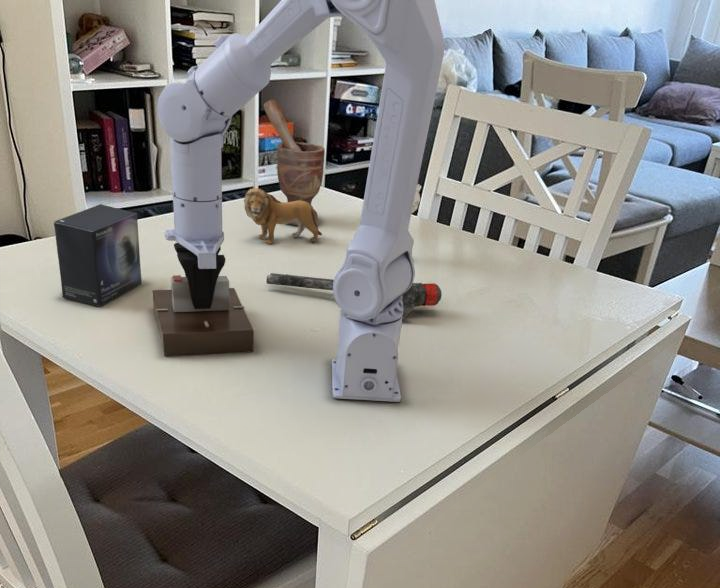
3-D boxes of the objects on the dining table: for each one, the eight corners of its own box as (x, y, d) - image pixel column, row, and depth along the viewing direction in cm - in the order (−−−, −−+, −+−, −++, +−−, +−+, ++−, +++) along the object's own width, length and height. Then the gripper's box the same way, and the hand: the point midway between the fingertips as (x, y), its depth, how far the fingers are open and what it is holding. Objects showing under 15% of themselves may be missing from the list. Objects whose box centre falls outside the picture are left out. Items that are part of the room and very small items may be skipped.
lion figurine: (250, 248, 127) (250, 193, 122) (238, 238, 131) (238, 184, 126) (328, 242, 133) (331, 189, 128) (315, 232, 137) (318, 181, 132)
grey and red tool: (443, 303, 119) (435, 326, 106) (285, 285, 123) (258, 306, 109) (448, 262, 116) (441, 281, 103) (286, 245, 120) (258, 261, 106)
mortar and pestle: (255, 222, 139) (256, 103, 127) (263, 209, 146) (265, 95, 134) (317, 229, 139) (324, 110, 127) (323, 216, 146) (329, 102, 134)
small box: (102, 308, 102) (93, 230, 96) (60, 298, 103) (49, 221, 97) (144, 284, 110) (139, 211, 104) (106, 275, 112) (98, 202, 106)
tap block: (254, 351, 95) (254, 328, 94) (163, 356, 92) (161, 332, 90) (234, 308, 106) (234, 286, 104) (152, 310, 103) (151, 288, 101)
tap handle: (226, 305, 99) (226, 273, 97) (229, 310, 98) (229, 279, 95) (172, 306, 97) (170, 275, 95) (174, 312, 96) (172, 280, 93)
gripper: (156, 178, 93) (163, 283, 101) (169, 213, 82) (175, 328, 90) (214, 179, 96) (216, 282, 103) (233, 213, 85) (234, 326, 92)
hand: (200, 303), depth 97 cm, fingers closed on tap handle, 2 cm apart
